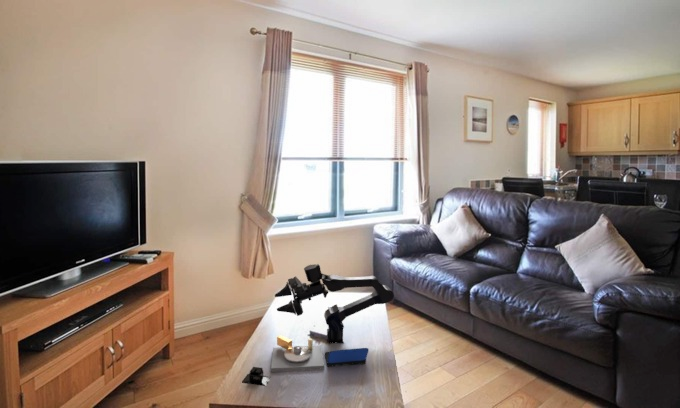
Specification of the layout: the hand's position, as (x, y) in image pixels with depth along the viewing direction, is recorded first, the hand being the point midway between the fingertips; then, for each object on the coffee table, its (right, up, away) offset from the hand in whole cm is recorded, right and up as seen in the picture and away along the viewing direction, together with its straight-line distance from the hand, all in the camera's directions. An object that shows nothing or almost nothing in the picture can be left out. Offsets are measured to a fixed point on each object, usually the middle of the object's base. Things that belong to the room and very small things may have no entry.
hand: (275, 302), depth 156 cm
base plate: (+10, -20, -9) cm, 25 cm away
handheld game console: (+29, -21, -10) cm, 38 cm away
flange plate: (+9, -18, -8) cm, 22 cm away
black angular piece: (-3, -23, -23) cm, 32 cm away
